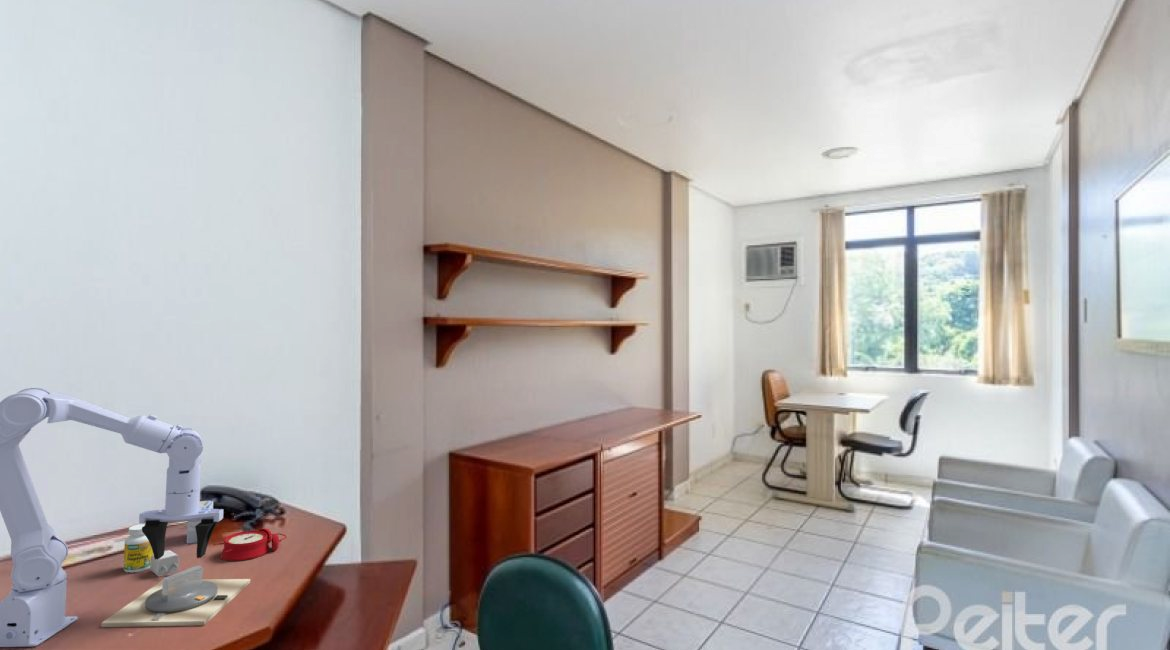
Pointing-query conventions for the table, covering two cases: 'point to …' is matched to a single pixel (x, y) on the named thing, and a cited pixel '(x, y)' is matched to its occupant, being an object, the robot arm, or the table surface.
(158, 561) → the usb wall charger
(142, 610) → the plate
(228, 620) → the table surface
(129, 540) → the supplement bottle
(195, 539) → the medicine box
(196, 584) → the twist dial
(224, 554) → the alarm clock
